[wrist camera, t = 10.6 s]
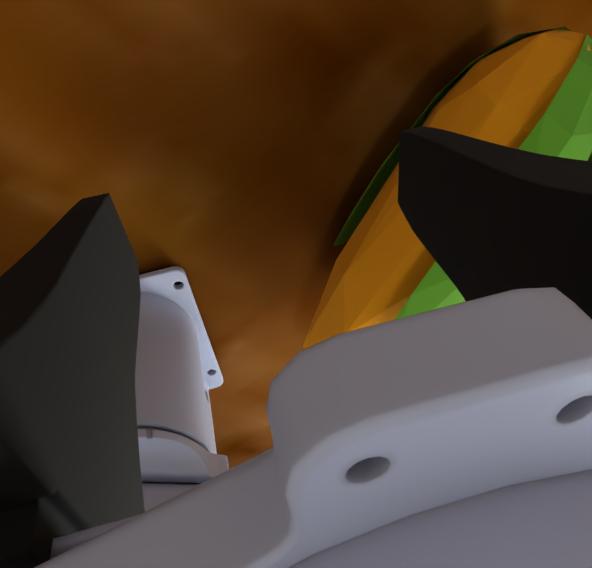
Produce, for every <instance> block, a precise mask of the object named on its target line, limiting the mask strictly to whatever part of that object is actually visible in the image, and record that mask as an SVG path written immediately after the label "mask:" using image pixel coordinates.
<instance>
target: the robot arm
mask: <svg viewBox="0 0 592 568" xmlns="http://www.w3.org/2000/svg"><path fill="white" fill-rule="evenodd" d="M398 204H399V206H400V208H401V210H402V212H403V214H404V216H405V218H406V220H407V221H408V223H409V225H410V227H411V229H412V230H413V232H414V233H415V234H416V236H417V237H418V239H419V240H420V241H421V242H422V244H423V245H424V246H425V248H426V249H427V250H428V252H429V253H430V254H431V255H432V257H433V258H434V259H435V261H436V262H437V263H438V264H439V266H440V267H441V268H442V270H443V271H444V272H445V273H446V275H447V276H448V277H449V279H450V280H451V281H452V282H453V284H454V285H455V286H456V288H457V289H458V290H459V292H460V293H461V295H462V296H463V298H464V299H465V301H466V302H462V303H458V304H455V305H451V306H447V307H443V308H439V309H435V310H431V311H427V312H423V313H419V314H415V315H412V316H408V317H404V318H400V319H396V320H392V321H388V322H384V323H380V324H376V325H373V326H369V327H365V328H361V329H357V330H353V331H349V332H345V333H341V334H337V335H335V336H333V337H331V338H328V339H326V340H324V341H322V342H320V343H317V344H315V345H313V346H311V347H309V348H306V349H304V350H302V351H300V352H299V353H298V354H297V355H296V356H295V357H294V358H293V359H292V360H291V361H290V362H289V363H288V364H287V365H286V366H285V367H284V368H283V370H282V371H281V372H280V373H279V374H278V375H277V376H276V377H275V378H274V379H273V380H272V381H271V384H270V390H269V396H268V402H267V408H266V411H267V415H268V420H269V424H270V429H271V433H272V438H273V447H272V448H271V449H269V450H267V451H265V452H263V453H261V454H259V455H257V456H255V457H253V458H251V459H249V460H247V461H245V462H243V463H241V464H239V465H237V466H235V467H233V468H231V469H229V465H228V458H227V456H226V455H219V454H217V452H216V444H215V436H214V429H213V421H212V413H211V406H210V398H209V389H212V388H216V387H219V386H220V385H222V383H223V376H222V373H221V371H220V368H219V365H218V362H217V360H216V357H215V354H214V351H213V348H212V346H211V343H210V340H209V337H208V335H207V332H206V329H205V326H204V324H203V321H202V318H201V315H200V313H199V310H198V307H197V304H196V302H195V299H194V296H193V293H192V290H191V288H190V285H189V282H188V279H187V277H186V274H185V271H184V270H183V269H182V268H181V267H177V266H173V267H169V268H165V269H161V270H157V271H153V272H149V273H145V274H141V275H139V268H138V261H137V259H136V256H135V254H134V252H133V249H132V247H131V244H130V242H129V240H128V237H127V235H126V233H125V230H124V228H123V225H122V223H121V221H120V218H119V216H118V214H117V211H116V209H115V206H114V204H113V202H112V199H111V197H110V195H109V193H107V194H102V195H98V196H93V197H88V198H84V199H82V200H80V201H79V202H78V203H77V204H75V205H74V206H73V207H72V208H71V209H70V210H69V211H68V212H67V213H66V214H65V215H64V216H63V217H62V219H61V220H60V221H59V222H58V223H57V224H56V225H55V226H54V227H53V228H52V229H51V230H50V231H49V232H48V233H47V234H46V235H45V236H44V237H43V238H42V239H41V240H40V241H39V242H38V243H37V244H36V245H35V246H34V247H33V248H32V249H31V250H30V251H29V252H27V253H26V254H25V255H24V256H23V257H22V258H21V259H20V260H19V261H18V262H17V263H16V264H15V265H13V266H12V267H11V268H10V269H9V270H8V271H7V272H5V273H4V274H3V275H2V276H1V277H0V568H592V161H585V160H576V159H569V158H563V157H556V156H549V155H544V154H538V153H533V152H529V151H524V150H520V149H515V148H511V147H507V146H503V145H499V144H495V143H491V142H487V141H484V140H480V139H476V138H473V137H469V136H465V135H462V134H458V133H455V132H451V131H447V130H443V129H438V128H433V127H425V126H422V127H417V128H413V129H408V130H403V131H400V144H399V176H398ZM178 281H180V282H182V284H180V285H175V284H174V283H175V282H178ZM211 369H213V370H211ZM209 370H211V371H209Z"/></svg>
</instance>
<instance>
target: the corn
mask: <svg viewBox="0 0 592 568" xmlns="http://www.w3.org/2000/svg"><path fill="white" fill-rule="evenodd" d="M422 126H425V127H433V128H438V129H443V130H447V131H451V132H455V133H458V134H462V135H465V136H469V137H473V138H476V139H480V140H484V141H487V142H491V143H495V144H499V145H503V146H507V147H511V148H515V149H520V150H524V151H529V152H533V153H538V154H544V155H549V156H556V157H563V158H569V159H576V160H585V161H592V39H591V38H590V37H589V36H588V35H587V36H586V38H585V37H584V36H583V34H582V33H578V32H573V31H570V30H569V29H567V28H566V27H561V28H555V29H549V30H543V31H537V32H531V33H525V34H519V35H516V36H515V37H513V38H511V39H509V40H508V41H506V42H504V43H503V44H501V45H499V46H497V47H496V48H494V49H492V50H490V51H489V52H487V53H485V54H484V55H482V56H480V57H478V58H477V59H475V60H473V61H472V62H471V63H470V64H469V65H468V66H467V67H466V68H465V69H463V70H462V71H461V72H460V73H459V74H458V75H457V76H456V77H455V78H454V79H453V80H452V81H450V82H449V83H448V84H447V85H446V86H445V87H444V88H443V89H442V90H441V91H440V92H439V93H437V95H436V96H435V97H434V98H433V100H432V101H431V102H430V103H429V105H428V106H427V107H426V109H425V110H424V111H423V112H422V114H421V115H420V116H419V118H418V119H417V120H416V121H415V123H414V124H413V125H412V126H411V128H410V129H413V128H417V127H422ZM399 144H400V142H399V143H398V144H397V146H396V147H395V148H394V150H393V151H392V152H391V153H390V155H389V156H388V157H387V158H386V160H385V161H384V162H383V164H382V165H381V166H380V168H379V169H378V171H377V173H376V174H375V176H374V177H373V179H372V181H371V182H370V184H369V185H368V187H367V189H366V190H365V192H364V193H363V195H362V196H361V198H360V200H359V201H358V203H357V204H356V206H355V208H354V209H353V211H352V212H351V214H350V216H349V217H348V219H347V221H346V223H345V225H344V226H343V228H342V230H341V232H340V234H339V235H338V237H337V239H336V241H335V243H334V245H333V246H338V245H342V244H344V243H345V242H347V241H348V240H349V241H348V242H347V244H346V245H345V247H344V248H343V250H342V252H341V253H340V255H339V256H338V258H337V259H336V262H335V264H334V267H333V269H332V272H331V274H330V277H329V279H328V282H327V285H326V287H325V290H324V292H323V295H322V297H321V300H320V302H319V305H318V308H317V310H316V313H315V315H314V318H313V320H312V323H311V325H310V328H309V330H308V333H307V336H306V338H305V341H304V343H303V350H304V349H306V348H309V347H311V346H313V345H315V344H317V343H320V342H322V341H324V340H326V339H328V338H331V337H333V336H335V335H337V334H341V333H345V332H349V331H353V330H357V329H361V328H365V327H369V326H373V325H376V324H380V323H384V322H388V321H392V320H396V319H400V318H404V317H408V316H412V315H415V314H419V313H423V312H427V311H431V310H435V309H439V308H443V307H447V306H451V305H455V304H458V303H462V302H465V299H464V298H463V296H462V295H461V293H460V292H459V290H458V289H457V288H456V286H455V285H454V284H453V282H452V281H451V280H450V279H449V277H448V276H447V275H446V273H445V272H444V271H443V270H442V268H441V267H440V266H439V264H438V263H437V262H436V261H435V259H434V258H433V257H432V255H431V254H430V253H429V252H428V250H427V249H426V248H425V246H424V245H423V244H422V242H421V241H420V240H419V239H418V237H417V236H416V234H415V233H414V232H413V230H412V229H411V227H410V225H409V223H408V221H407V220H406V218H405V216H404V214H403V212H402V210H401V208H400V206H399V204H398V176H399Z"/></svg>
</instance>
